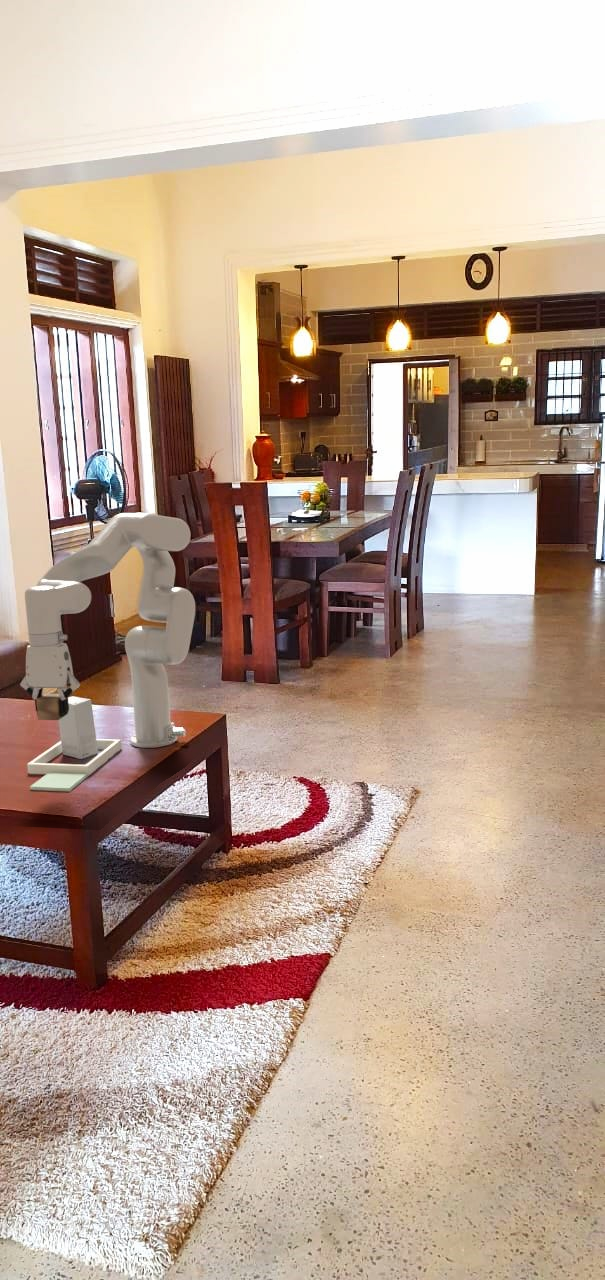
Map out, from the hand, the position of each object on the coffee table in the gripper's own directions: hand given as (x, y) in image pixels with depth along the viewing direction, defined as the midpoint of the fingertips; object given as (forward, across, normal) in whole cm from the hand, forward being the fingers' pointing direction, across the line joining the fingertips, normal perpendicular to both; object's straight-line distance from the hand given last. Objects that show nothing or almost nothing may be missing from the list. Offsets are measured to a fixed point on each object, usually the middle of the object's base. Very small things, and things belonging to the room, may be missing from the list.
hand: (52, 714), depth 225 cm
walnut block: (+1, 0, 0) cm, 1 cm away
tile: (+17, 0, 0) cm, 17 cm away
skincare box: (+17, +4, -21) cm, 28 cm away
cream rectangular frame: (+17, +3, -16) cm, 24 cm away
